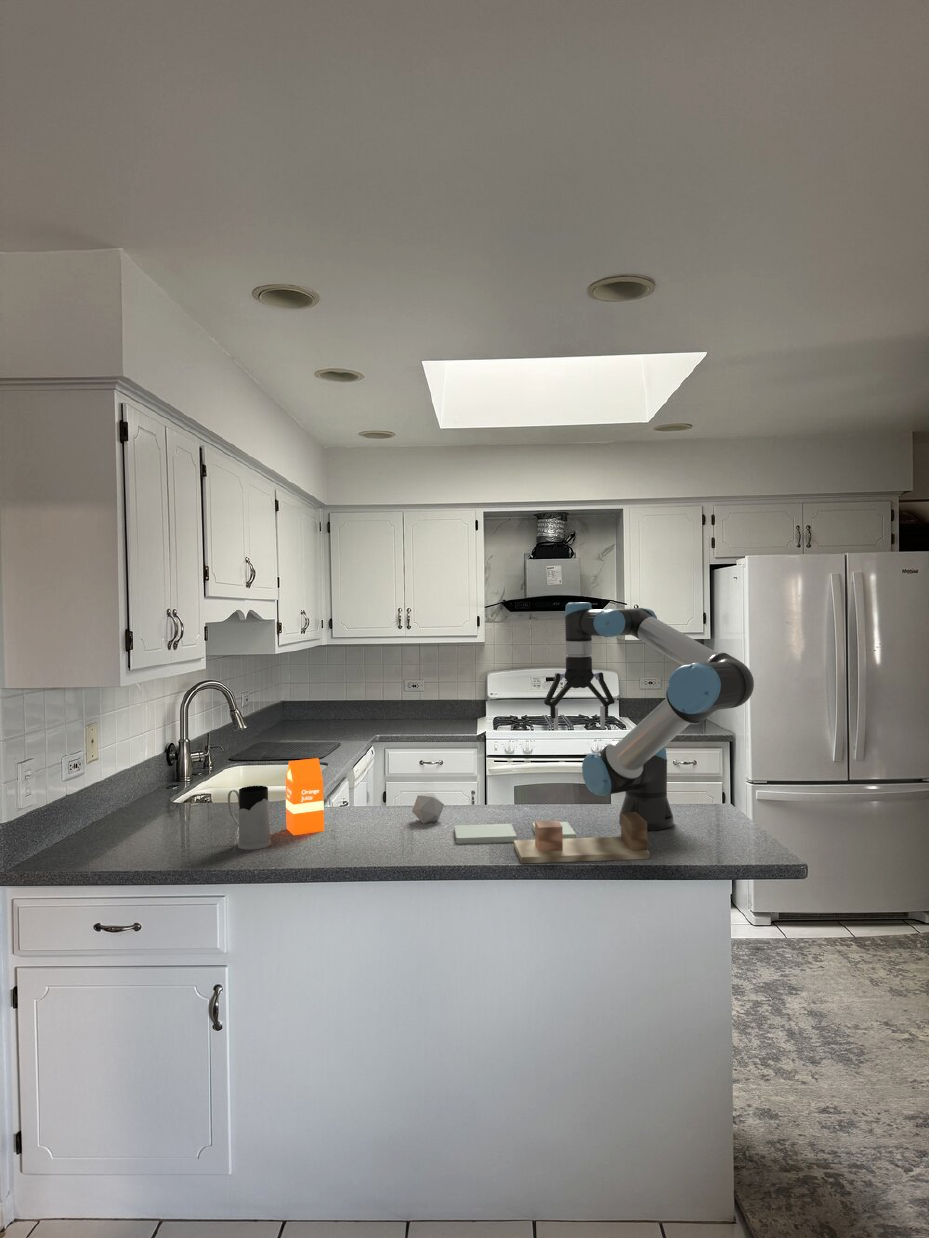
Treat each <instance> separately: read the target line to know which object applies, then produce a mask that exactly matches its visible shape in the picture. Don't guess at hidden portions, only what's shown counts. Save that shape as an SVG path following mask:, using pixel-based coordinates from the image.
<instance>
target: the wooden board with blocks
mask: <svg viewBox="0 0 929 1238" xmlns="http://www.w3.org/2000/svg"><path fill="white" fill-rule="evenodd" d="M513 847H514V850H515V852H516V854H517V857H518V858H519V861H520V864H542V863H568V862H569V863H570V862H571V863H572V862H593V861H595V862H597V861H598V862H599V861H624V860H626V861H627V860H650V858H651V857H650V856H651V853H650V851H649V850H648V830H647V822H646V821H645V820H644V819H643V818H642V817H641V816H640V815H639V814H638V813H637V812H621V824H620V836H602V837H601V836H598V837H576V838H567V839H563V851H538V849H537V847H536V845H535V839H517V840H514V842H513Z"/></svg>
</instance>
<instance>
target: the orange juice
mask: <svg viewBox="0 0 929 1238" xmlns="http://www.w3.org/2000/svg"><path fill="white" fill-rule="evenodd" d="M324 803H325V801H324V779H323V773H322V769H321V764H320V758H318V757H316V758H308V759H307V758H306V759H299V760H288V766H287V771H286V776H285V814H286V816H285V817H286V819H285V820H286V824H285V825H286V830H287V831H289V833H290V834H292V835H293V836H298V835H304V834H305V835H306V834H312V833H318V832H325V822H324V821H325V819H324V818H325V816H324V815H325V814H324V811H325V810H324V809H325V808H324V807H325V804H324Z"/></svg>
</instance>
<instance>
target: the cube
mask: <svg viewBox="0 0 929 1238" xmlns="http://www.w3.org/2000/svg"><path fill="white" fill-rule="evenodd" d="M559 822H560V821H559V820H557V819H556V820H553V819H552V820H535V821H534V823H535V832H534V840H535V845H536V847H537V849H538V851H563V832H562V825H561V824H560V823H559Z"/></svg>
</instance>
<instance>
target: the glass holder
mask: <svg viewBox="0 0 929 1238" xmlns="http://www.w3.org/2000/svg"><path fill="white" fill-rule="evenodd" d="M232 792H234V793H235V794H236V796H237V803H238V807H239V808H238V819H237V818H236V816H235V814H234V812H233V809H232V805H231V804H232V803H231V794H232ZM227 794H228V795H227V806H228V810H229V813H230V816H231V817H232V819H233V822H234V823H235V824H236V826H237V827H238V835H239V836H238V839H239V840H238V843H237V847H238V849H241V850H248V851H251V850H260V849H261V850H262V849H265V848H268V847H269V846H271V845H272V841H271V837H270V801H269V787H268V786H266V785H249V786H248V785H247V786H243V787H241V788H239V789H238V790H236V789H232V790H230V791H229V792H228V793H227Z"/></svg>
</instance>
